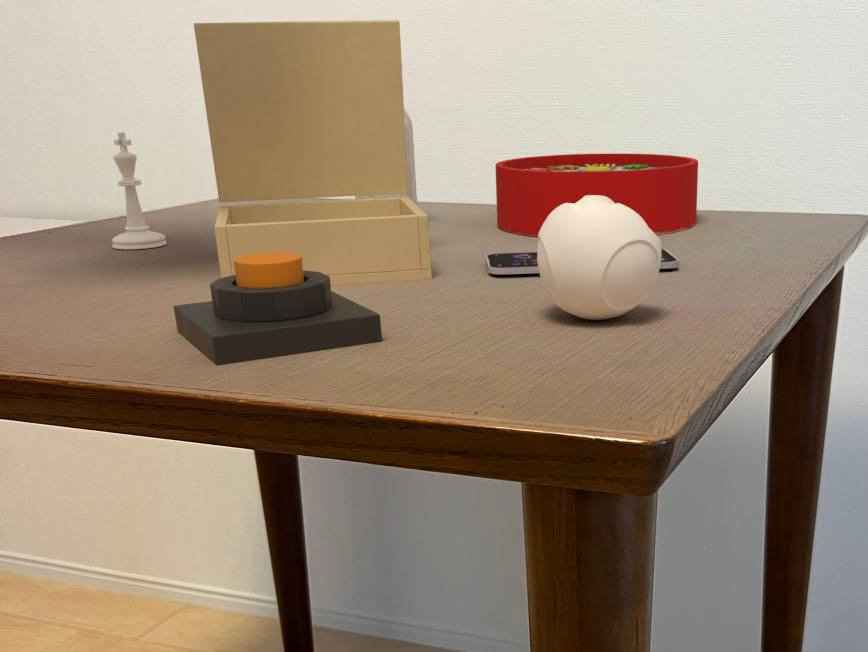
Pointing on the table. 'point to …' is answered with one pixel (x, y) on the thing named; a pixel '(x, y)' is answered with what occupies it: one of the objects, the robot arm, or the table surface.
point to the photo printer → (410, 166)
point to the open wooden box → (332, 237)
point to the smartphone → (528, 263)
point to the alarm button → (268, 270)
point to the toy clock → (597, 188)
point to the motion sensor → (597, 257)
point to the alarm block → (274, 320)
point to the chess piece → (133, 205)
